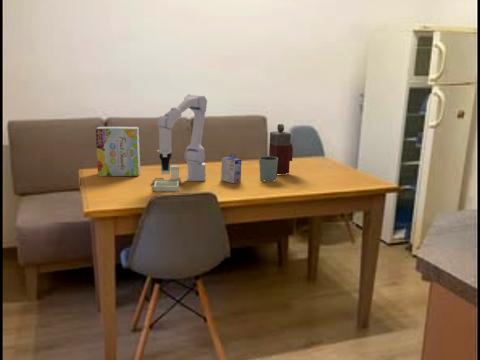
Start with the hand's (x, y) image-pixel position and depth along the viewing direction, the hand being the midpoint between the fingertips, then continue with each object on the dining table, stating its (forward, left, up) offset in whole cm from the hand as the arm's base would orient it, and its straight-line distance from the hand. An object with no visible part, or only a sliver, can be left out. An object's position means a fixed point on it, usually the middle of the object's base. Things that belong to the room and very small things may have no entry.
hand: (165, 169), depth 243 cm
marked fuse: (0, 0, -2) cm, 2 cm away
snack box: (+26, -29, -10) cm, 40 cm away
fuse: (-5, -9, -8) cm, 13 cm away
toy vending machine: (-64, -33, -10) cm, 72 cm away
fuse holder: (-1, -9, -10) cm, 13 cm away
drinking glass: (-54, -17, -10) cm, 57 cm away
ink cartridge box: (-34, -14, -10) cm, 38 cm away
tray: (-1, +1, -10) cm, 10 cm away
